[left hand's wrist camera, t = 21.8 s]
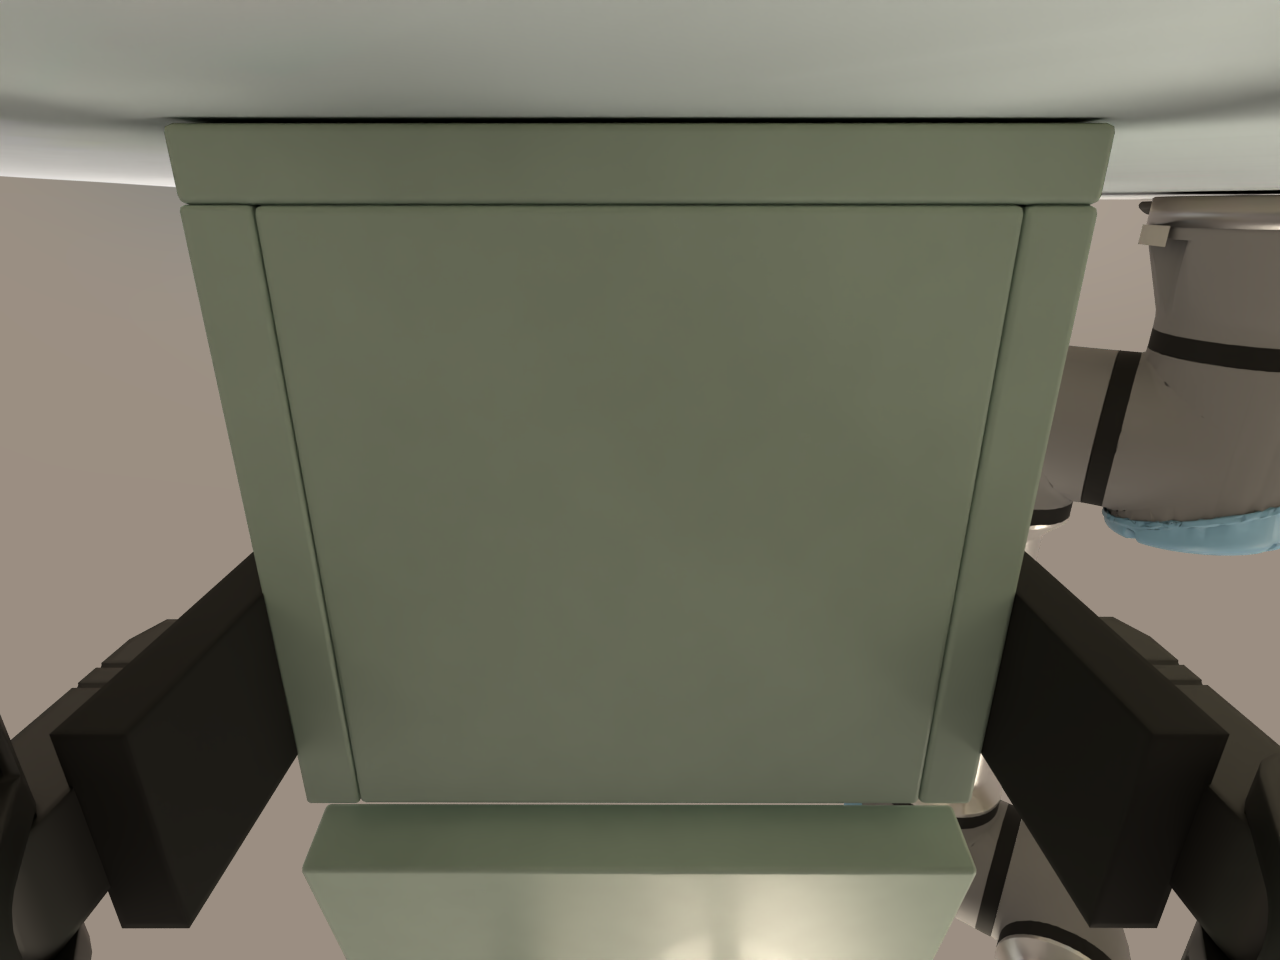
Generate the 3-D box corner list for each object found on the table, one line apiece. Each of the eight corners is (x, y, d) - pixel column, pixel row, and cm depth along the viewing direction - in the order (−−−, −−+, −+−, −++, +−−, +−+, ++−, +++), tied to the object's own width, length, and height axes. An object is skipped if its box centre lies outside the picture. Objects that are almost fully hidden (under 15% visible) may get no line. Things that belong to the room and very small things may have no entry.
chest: (823, 177, 20) (796, 490, 23) (458, 177, 20) (484, 489, 23) (1121, 122, 7) (973, 805, 11) (157, 122, 7) (305, 804, 11)
